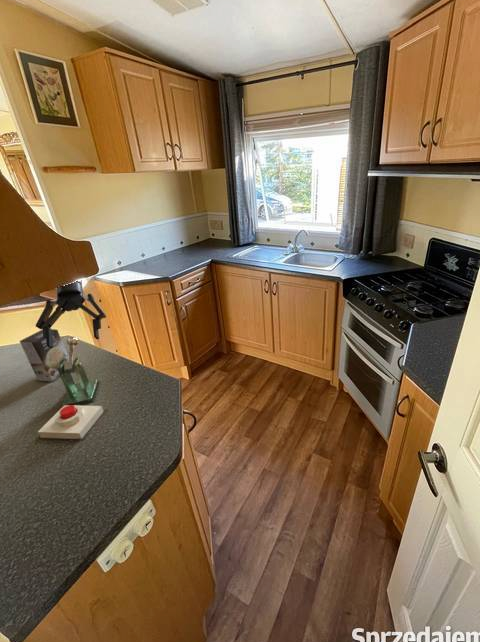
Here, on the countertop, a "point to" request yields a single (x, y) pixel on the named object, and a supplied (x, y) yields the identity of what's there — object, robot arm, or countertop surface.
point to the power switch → (77, 391)
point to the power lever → (71, 354)
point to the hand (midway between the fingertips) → (73, 342)
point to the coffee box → (44, 355)
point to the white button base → (71, 423)
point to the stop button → (68, 412)
